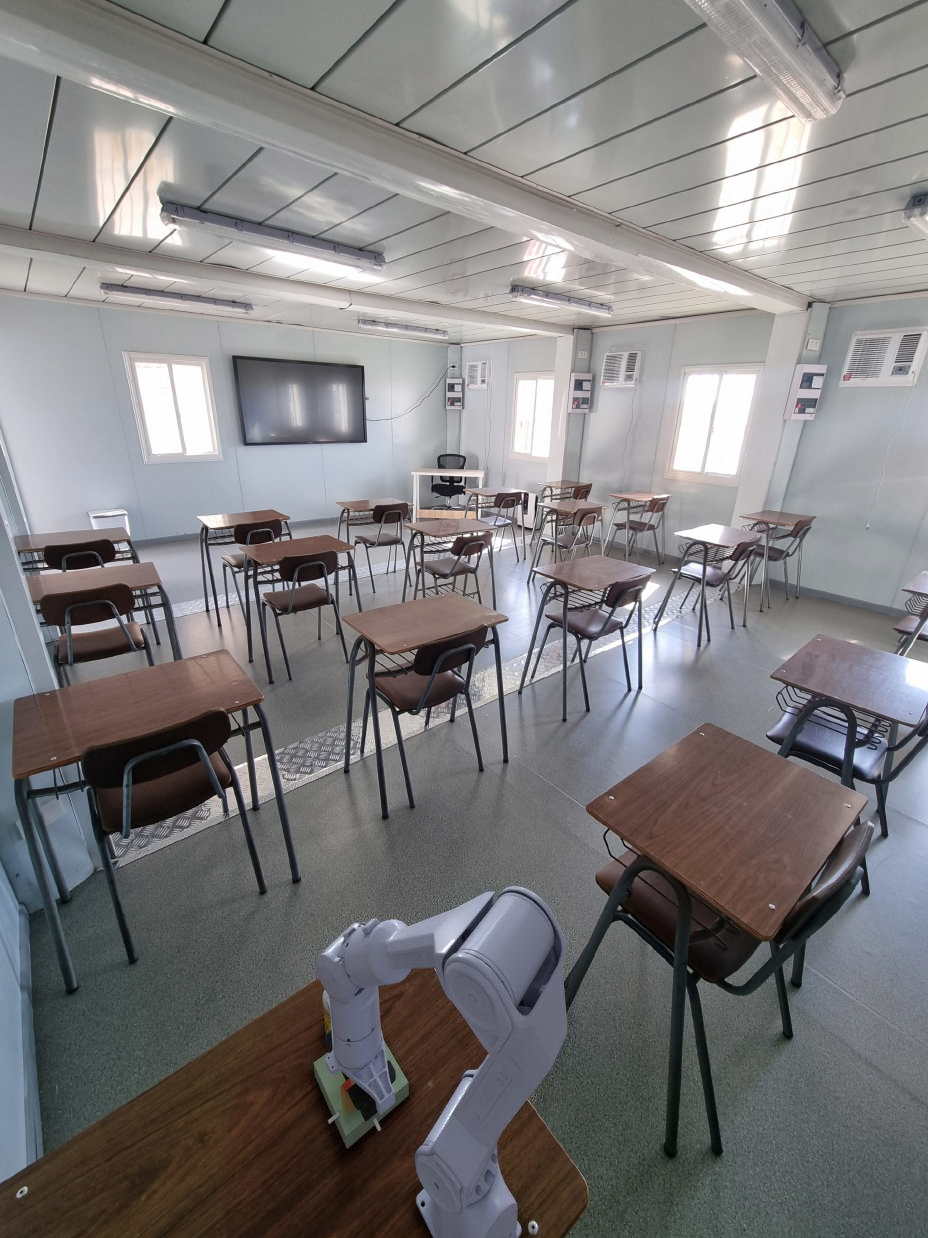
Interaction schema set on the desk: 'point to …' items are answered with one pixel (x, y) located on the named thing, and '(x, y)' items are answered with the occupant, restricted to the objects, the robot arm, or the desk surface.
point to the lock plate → (354, 1122)
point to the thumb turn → (346, 1096)
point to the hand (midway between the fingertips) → (361, 1093)
